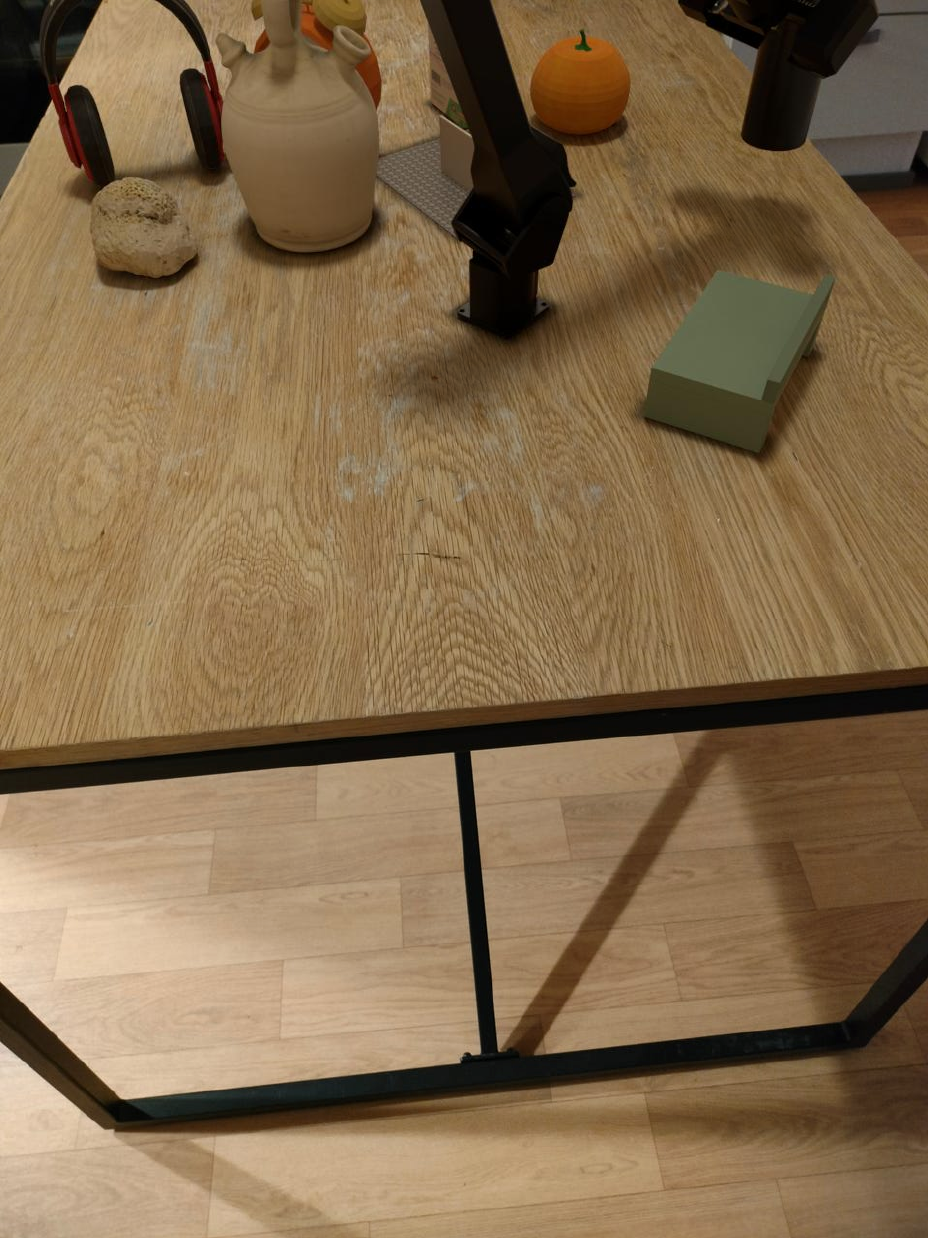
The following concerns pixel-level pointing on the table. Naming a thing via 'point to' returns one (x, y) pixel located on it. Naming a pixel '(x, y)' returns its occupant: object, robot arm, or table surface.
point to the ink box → (442, 85)
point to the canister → (779, 95)
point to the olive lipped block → (734, 358)
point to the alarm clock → (331, 33)
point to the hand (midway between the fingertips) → (800, 61)
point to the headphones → (82, 114)
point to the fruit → (580, 85)
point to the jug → (301, 133)
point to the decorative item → (140, 229)
